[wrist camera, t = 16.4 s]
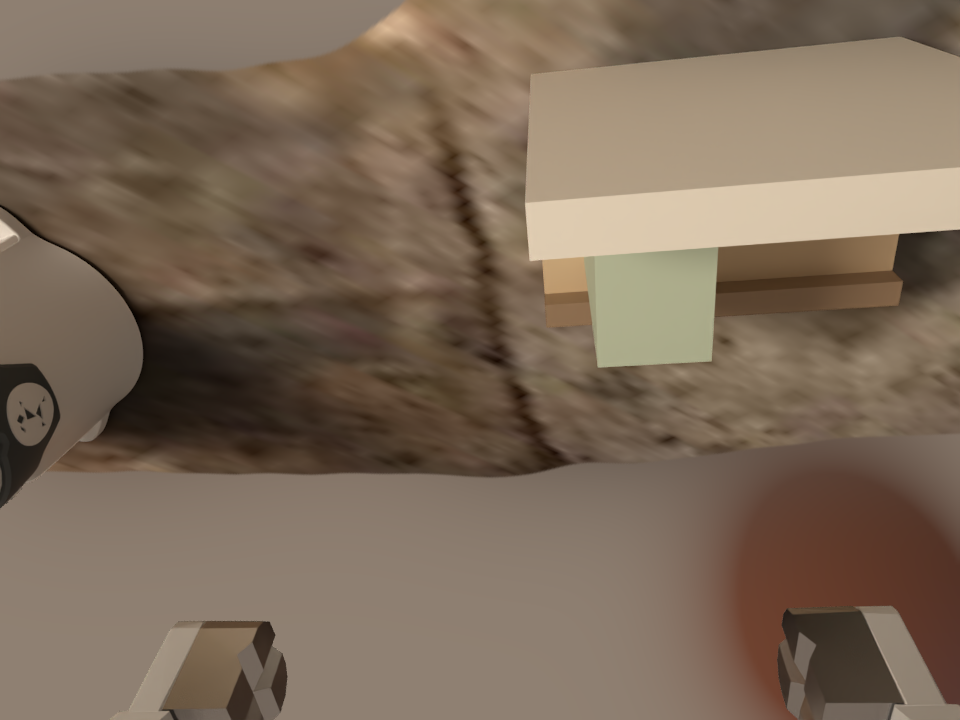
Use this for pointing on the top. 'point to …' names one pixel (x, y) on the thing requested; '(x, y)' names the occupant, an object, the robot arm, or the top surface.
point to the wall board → (747, 170)
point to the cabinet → (652, 306)
